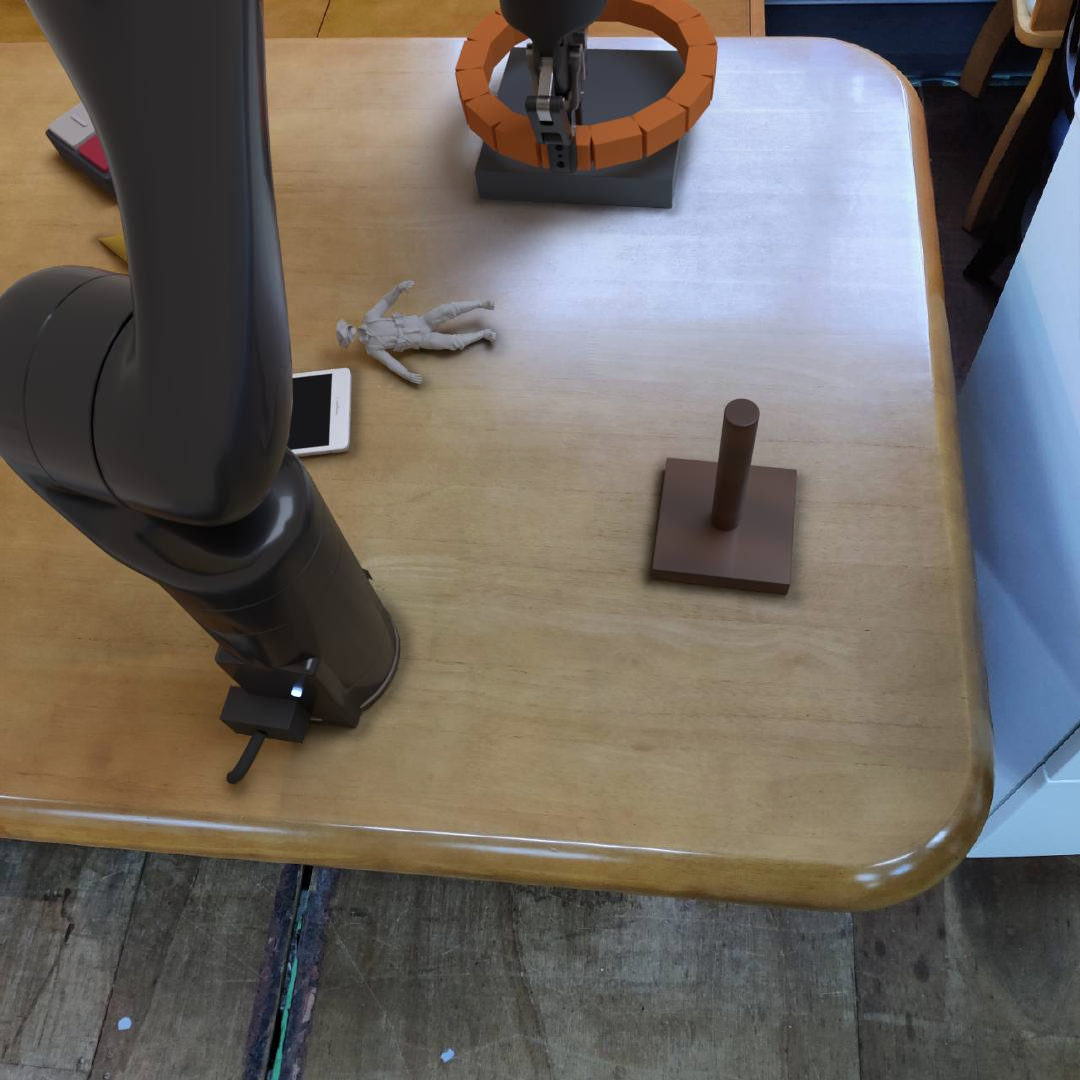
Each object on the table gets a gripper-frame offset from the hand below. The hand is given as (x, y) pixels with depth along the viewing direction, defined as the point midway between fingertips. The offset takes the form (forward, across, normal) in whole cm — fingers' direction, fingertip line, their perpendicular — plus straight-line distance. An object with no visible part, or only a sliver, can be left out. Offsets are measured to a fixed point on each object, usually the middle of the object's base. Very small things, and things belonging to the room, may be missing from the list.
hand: (566, 157), depth 77 cm
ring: (0, -10, 0) cm, 10 cm away
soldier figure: (+6, +16, -10) cm, 19 cm away
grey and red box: (+6, -7, -42) cm, 44 cm away
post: (+6, +30, +16) cm, 34 cm away
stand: (+6, -10, 0) cm, 11 cm away
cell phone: (+6, +25, -22) cm, 33 cm away
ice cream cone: (+6, +10, -34) cm, 35 cm away
